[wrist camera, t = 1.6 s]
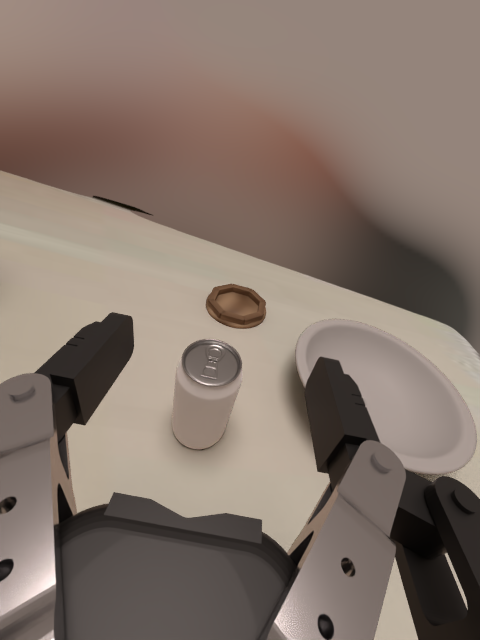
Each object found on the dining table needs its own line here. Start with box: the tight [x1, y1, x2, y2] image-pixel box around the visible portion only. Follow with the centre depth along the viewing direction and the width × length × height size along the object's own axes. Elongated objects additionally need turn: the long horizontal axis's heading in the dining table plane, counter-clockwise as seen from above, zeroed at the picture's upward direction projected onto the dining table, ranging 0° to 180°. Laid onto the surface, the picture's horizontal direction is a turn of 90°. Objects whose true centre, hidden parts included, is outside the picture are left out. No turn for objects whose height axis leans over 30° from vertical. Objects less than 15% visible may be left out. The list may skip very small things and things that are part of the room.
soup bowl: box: [295, 319, 477, 475], centre depth 37 cm, size 24×24×7 cm
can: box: [172, 339, 242, 449], centre depth 27 cm, size 6×6×12 cm
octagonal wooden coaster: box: [206, 284, 266, 328], centre depth 50 cm, size 12×12×2 cm
